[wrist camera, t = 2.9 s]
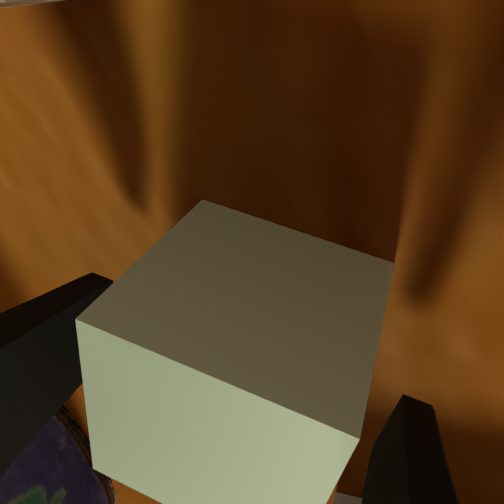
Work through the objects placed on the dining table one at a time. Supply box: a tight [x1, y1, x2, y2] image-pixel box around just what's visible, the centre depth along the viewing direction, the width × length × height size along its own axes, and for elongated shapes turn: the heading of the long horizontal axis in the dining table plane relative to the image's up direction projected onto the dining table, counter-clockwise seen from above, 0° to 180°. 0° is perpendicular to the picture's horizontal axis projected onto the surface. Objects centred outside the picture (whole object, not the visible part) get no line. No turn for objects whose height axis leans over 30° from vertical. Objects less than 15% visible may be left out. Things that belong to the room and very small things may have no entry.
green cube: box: [75, 199, 394, 504], centre depth 11 cm, size 5×5×5 cm
